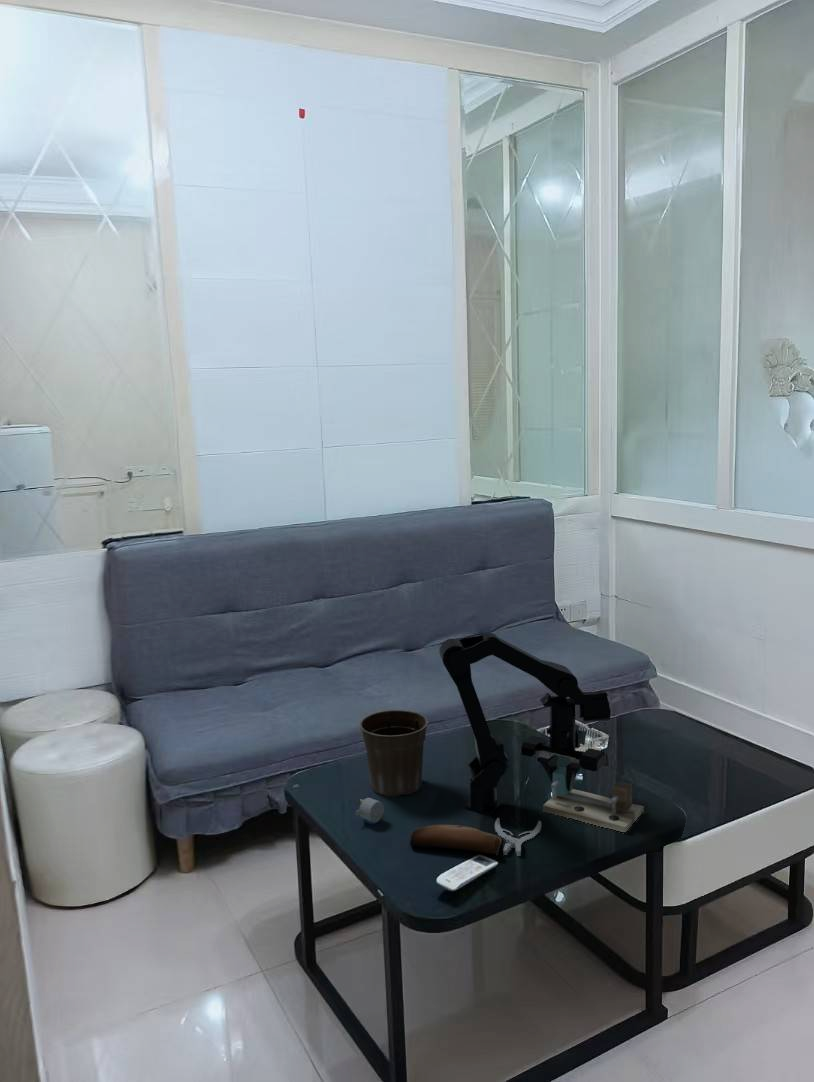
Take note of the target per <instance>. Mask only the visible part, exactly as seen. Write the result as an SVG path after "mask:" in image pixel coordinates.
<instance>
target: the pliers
mask: <svg viewBox="0 0 814 1082" xmlns="http://www.w3.org/2000/svg"><path fill="white" fill-rule="evenodd" d="M500 820H501V819H500V817H497V818H496V820H495V821H494V822H495V823H494V830H495V833H496V832H497V833H498V834H497V833H496V834H497V836H498V837H500V836H501V837H502V838H504V839H505V840H506V841H505V840H504V839H503V840H504V841H505V844H504V846H503V849H502V851H503V853H502V854H504V855H507V856H508V854H509V853H510V852H511V851H512V849H511V848H515V849H514V850H515V853H517V854H516V856H521V857H522V855H521V854H522V846H521V845H523V844H524V843H523V842H525V841H526V842H528V841H527V840H529V841H531V840H533V839H535V838H536V837H537V836H538V835H539V834H538V833H541V829H542V821H541V820H538V821H537V824H536V826H535V827H534V829H533V830H528V831H524V832H521V833H519V834H518V835H517V837H518V836H520V835H522V834H525V835H522V836H520V837H518V838H517V837H514V834H513V833H512V831H511V830H507V829H505V828H502V826H501V824H500V822H501V821H500ZM503 831H506V832H503ZM507 832H509V833H510V834H511V835H513V836H511V835H510V834H509V833H507ZM526 833H530V834H526ZM508 834H509V835H508ZM537 834H538V835H537ZM536 835H537V836H536ZM535 836H536V837H535ZM501 837H500V838H501ZM534 837H535V838H534ZM502 838H501V839H502ZM532 838H533V839H532ZM530 839H531V840H530ZM506 842H507V843H506ZM526 842H525V843H526ZM522 843H523V844H522ZM509 851H510V852H509ZM508 852H509V853H508ZM507 853H508V854H507ZM504 855H503V856H504Z"/></svg>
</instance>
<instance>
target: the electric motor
mask: <svg viewBox="0 0 814 1082" xmlns="http://www.w3.org/2000/svg"><path fill="white" fill-rule="evenodd" d="M359 803H360V804H359V808H358V809H357V810H356V811H355V816H356V817H358V816H359V817H360V819H362V821H363V822H364V823H366V824H369V825H372V826H373V825H375V824H376V823H379V822H380V820H381V819H382V818H383V815H384V813H385V812H384V810H385V806H384V804H383V802H382V801H379V800H377V799H374V798H371V797H366V798H364V799H362V798H360V799H359Z"/></svg>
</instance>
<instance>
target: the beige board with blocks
mask: <svg viewBox="0 0 814 1082" xmlns="http://www.w3.org/2000/svg"><path fill="white" fill-rule="evenodd" d="M643 812H644V813H645V806H643V805H640V804H635V803H633V783H629V782H624V781H620V780H619V781H617V783H615V784H614V785H613V786H612V787H611V797H608V796H603V795H599V794H594V793H592V792H588V791H587V792H586V791H582V790H578V789H574V788H572V791H570V792H569V793H568V794H567V795H566V796H561V795H557V794H556V800H552V797H550V799H548V800H547V801H546V802H545V803H544V804H542V813H546V814H550V813H551V815H553V814H554V816H557V815H559V816H558V817H561V816H563V817H562V818H564V817H566V818H565V819H568V818H572V819H575V820H579V821H582V822H581V823H583V822H585V823H584V824H587V823H589V824H588V825H590V824H593V825H592V826H594V825H596V826H595V827H598V826H600V827H599V828H601V827H604V828H603V829H605V828H609V829H613V830H616V831H620V832H626V831H627V830H628V829H629V828H630V827H631V826H632V824H633V823H634V822H635V821H636V820H637V818H638V817H639V816H640V815H641V814H642V813H643ZM644 813H643V814H644ZM572 819H571V820H572ZM575 820H574V821H575ZM579 821H578V822H579ZM637 821H638V820H637ZM637 821H636V822H637ZM632 827H633V826H632ZM632 827H631V828H632ZM631 828H630V829H631ZM609 829H608V830H609ZM630 829H629V830H630ZM629 830H628V831H629ZM616 831H615V832H616ZM620 832H619V833H620Z"/></svg>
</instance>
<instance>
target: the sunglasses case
mask: <svg viewBox="0 0 814 1082" xmlns="http://www.w3.org/2000/svg"><path fill="white" fill-rule="evenodd" d="M409 839H410V841H409V843H410V847H427V848H429V847H430V848H431V847H432V848H433V847H434V848H444V849H445V848H446V849H451V850H452V849H453V850H463V851H467V852H476V853H477V852H479V853H486V854H491V855H495V856H496V857H498V856H497V855H499V853H498V852H500V850H499V848H500V849H501V846H500V845H502V841H503V839H502V838H501V837H500V836H499V835H497V834H492V833H490V832H486V831H483V830H480V829H477V828H474V827H471V826H464V825H460V824H459V825H457V824H431V825H427V826H422V827H418V828H415V829H414V830H413V831H412V833H411V835H410V838H409Z"/></svg>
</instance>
